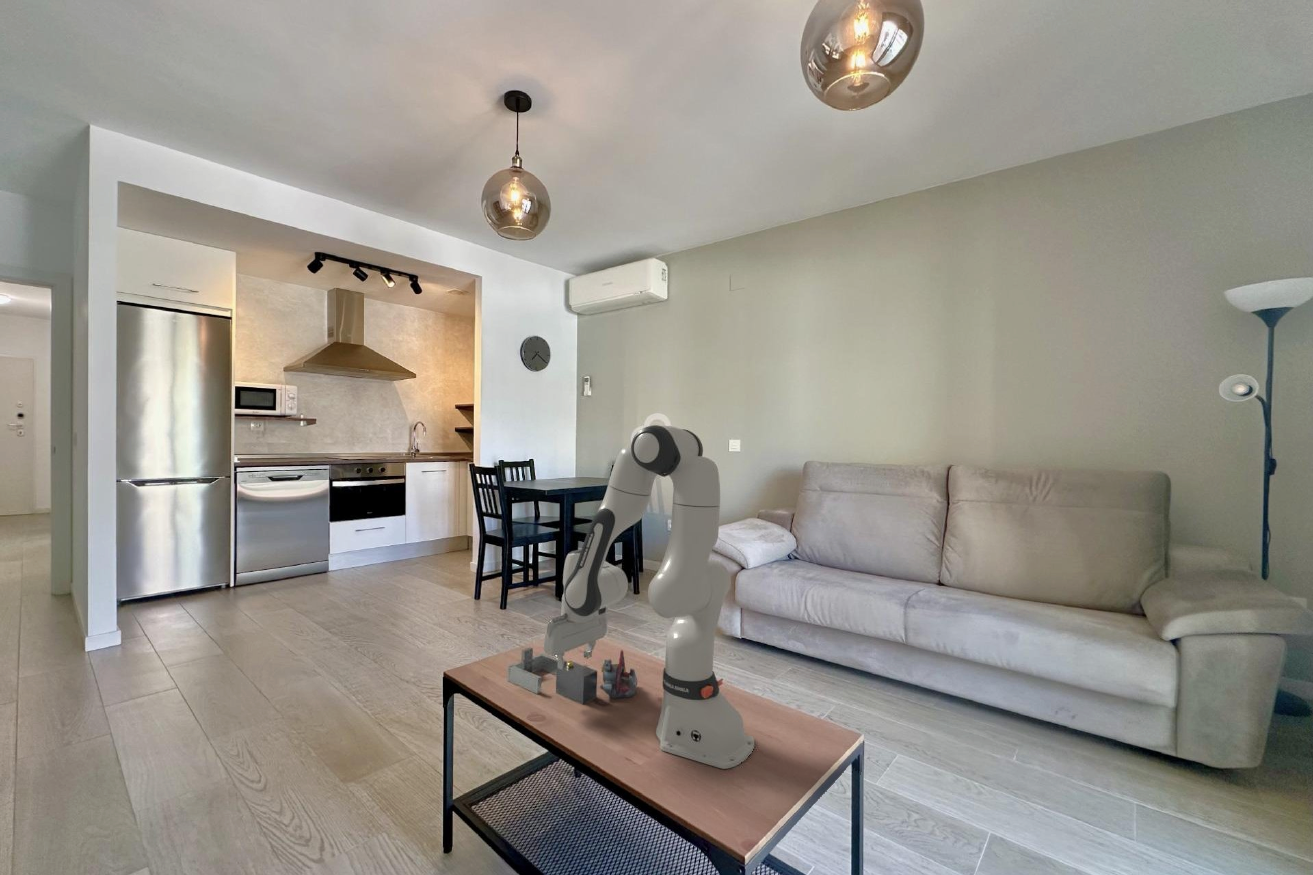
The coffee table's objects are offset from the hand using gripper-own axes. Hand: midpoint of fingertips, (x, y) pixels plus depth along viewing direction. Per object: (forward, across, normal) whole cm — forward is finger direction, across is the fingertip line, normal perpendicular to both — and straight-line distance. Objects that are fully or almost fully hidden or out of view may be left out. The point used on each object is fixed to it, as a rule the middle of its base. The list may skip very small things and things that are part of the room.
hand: (575, 662), depth 139 cm
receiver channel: (+9, 0, +13) cm, 16 cm away
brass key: (+8, +18, +1) cm, 19 cm away
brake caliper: (+8, +9, -8) cm, 15 cm away
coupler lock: (+8, 0, -1) cm, 8 cm away
